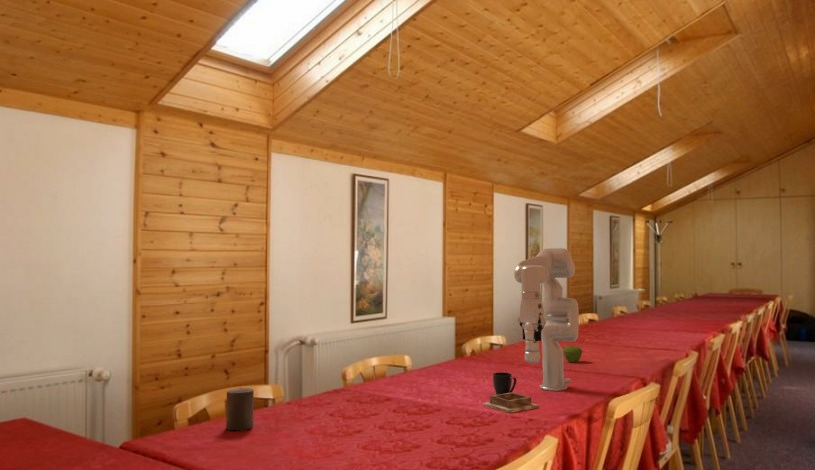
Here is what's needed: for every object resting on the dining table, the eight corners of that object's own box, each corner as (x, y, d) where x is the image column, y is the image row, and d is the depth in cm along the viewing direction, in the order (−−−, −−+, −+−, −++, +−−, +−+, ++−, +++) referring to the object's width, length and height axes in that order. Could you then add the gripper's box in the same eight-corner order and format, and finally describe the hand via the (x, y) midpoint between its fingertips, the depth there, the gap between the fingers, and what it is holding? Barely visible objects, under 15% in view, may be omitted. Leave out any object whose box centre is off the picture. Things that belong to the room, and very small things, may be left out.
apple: (564, 363, 358) (563, 346, 358) (562, 360, 368) (562, 343, 369) (583, 363, 356) (582, 346, 356) (581, 360, 366) (580, 344, 367)
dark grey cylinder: (239, 432, 221) (239, 390, 222) (220, 429, 226) (220, 387, 227) (259, 426, 229) (259, 385, 230) (240, 423, 234) (241, 383, 235)
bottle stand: (512, 400, 266) (512, 390, 266) (538, 407, 252) (538, 397, 253) (483, 405, 258) (483, 395, 258) (508, 413, 244) (508, 402, 244)
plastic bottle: (541, 362, 256) (540, 313, 257) (539, 364, 250) (538, 315, 250) (525, 361, 258) (524, 313, 259) (523, 364, 252) (522, 314, 252)
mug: (508, 399, 267) (508, 377, 268) (489, 395, 277) (489, 373, 277) (522, 397, 272) (521, 375, 272) (502, 392, 282) (502, 371, 282)
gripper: (553, 296, 250) (554, 341, 249) (522, 294, 264) (523, 337, 263) (539, 297, 246) (540, 343, 245) (509, 295, 260) (510, 338, 259)
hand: (532, 339), depth 254 cm, fingers closed on plastic bottle, 6 cm apart
